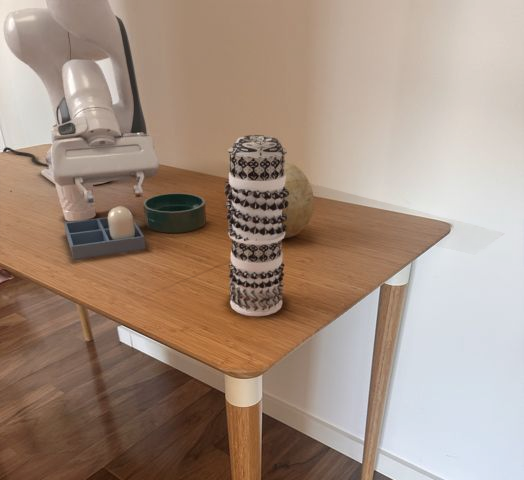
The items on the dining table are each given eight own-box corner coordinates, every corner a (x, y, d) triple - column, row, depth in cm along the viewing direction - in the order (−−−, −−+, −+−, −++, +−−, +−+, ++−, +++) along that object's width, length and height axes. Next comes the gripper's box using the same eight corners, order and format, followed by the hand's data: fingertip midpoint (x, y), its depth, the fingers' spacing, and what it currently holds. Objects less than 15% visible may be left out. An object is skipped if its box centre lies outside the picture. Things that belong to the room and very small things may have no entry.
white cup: (54, 220, 111) (44, 174, 105) (77, 209, 117) (68, 165, 112) (84, 225, 109) (75, 178, 103) (105, 214, 115) (98, 169, 109)
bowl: (134, 225, 109) (130, 202, 107) (180, 210, 117) (178, 189, 115) (171, 240, 102) (169, 216, 99) (218, 224, 110) (217, 202, 108)
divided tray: (66, 236, 103) (63, 222, 102) (132, 228, 108) (130, 214, 106) (74, 261, 93) (71, 246, 91) (146, 251, 98) (144, 236, 96)
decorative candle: (218, 311, 79) (211, 142, 65) (241, 286, 86) (239, 129, 72) (272, 322, 76) (278, 149, 62) (291, 295, 83) (300, 135, 69)
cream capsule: (107, 245, 99) (100, 207, 94) (127, 238, 102) (122, 201, 97) (121, 251, 96) (115, 212, 92) (141, 244, 99) (136, 206, 95)
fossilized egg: (242, 229, 108) (242, 157, 100) (296, 222, 112) (300, 152, 103) (264, 251, 98) (265, 173, 90) (322, 243, 102) (328, 167, 94)
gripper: (149, 141, 106) (165, 200, 104) (46, 149, 99) (61, 212, 97) (151, 121, 100) (169, 184, 98) (42, 128, 93) (59, 196, 91)
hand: (114, 198), depth 97 cm, fingers open, 8 cm apart
